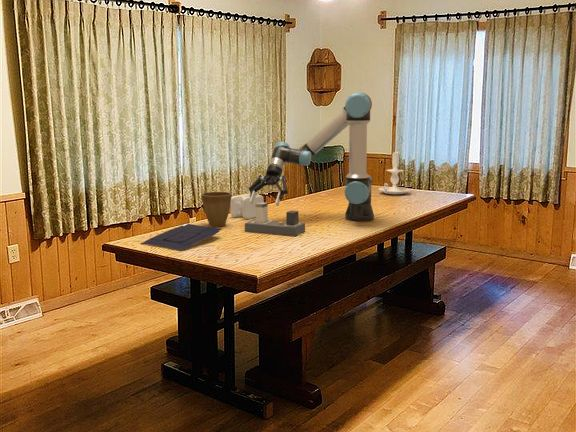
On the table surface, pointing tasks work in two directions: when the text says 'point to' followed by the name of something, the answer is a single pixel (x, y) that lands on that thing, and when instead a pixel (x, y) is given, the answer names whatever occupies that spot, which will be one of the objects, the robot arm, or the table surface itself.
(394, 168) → the candlestick
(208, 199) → the plant pot
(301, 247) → the table surface
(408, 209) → the table surface
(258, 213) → the plug
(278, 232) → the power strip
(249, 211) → the white lumpy block
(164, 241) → the dark blue folded cloth
